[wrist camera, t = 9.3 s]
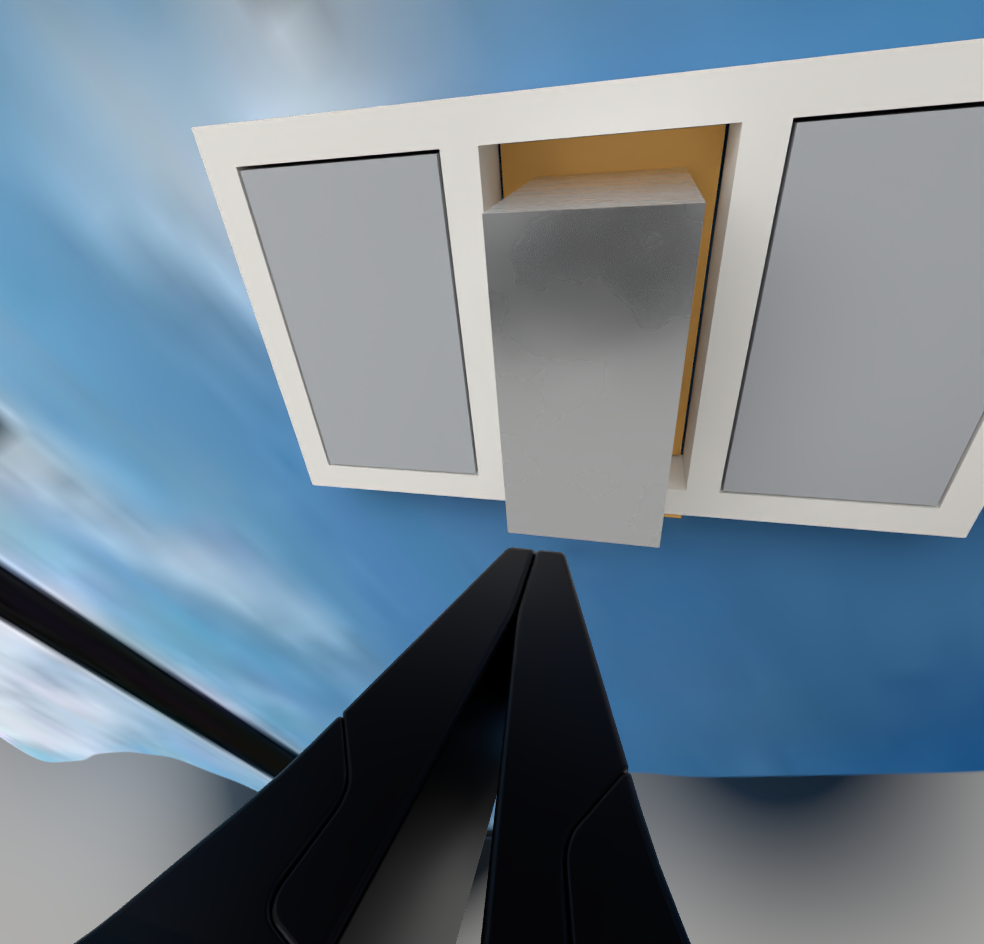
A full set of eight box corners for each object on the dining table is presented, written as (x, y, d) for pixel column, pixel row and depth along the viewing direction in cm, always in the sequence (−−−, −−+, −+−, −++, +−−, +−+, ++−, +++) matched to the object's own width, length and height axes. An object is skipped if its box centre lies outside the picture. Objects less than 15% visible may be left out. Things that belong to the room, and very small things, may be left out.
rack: (1162, 22, 11) (1262, 7, 9) (930, 500, 18) (961, 545, 16) (241, 124, 16) (191, 127, 14) (340, 460, 23) (315, 490, 21)
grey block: (686, 166, 14) (705, 202, 9) (656, 431, 18) (659, 547, 14) (535, 176, 15) (482, 213, 10) (542, 425, 19) (507, 532, 14)
